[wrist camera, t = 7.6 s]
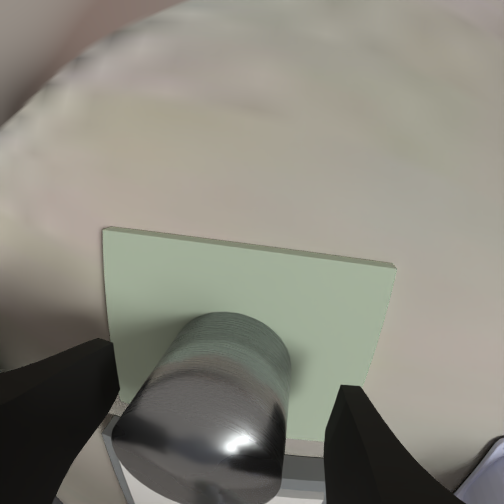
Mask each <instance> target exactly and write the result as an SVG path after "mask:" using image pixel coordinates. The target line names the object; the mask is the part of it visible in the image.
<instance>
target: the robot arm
mask: <svg viewBox="0 0 504 504" xmlns="http://www.w3.org/2000/svg"><path fill="white" fill-rule="evenodd" d="M119 391H120V385H119V379H118V373H117V366H116V360H115V352H114V345H113V342H109V341H106V340H103V339H99V338H97V339H94V340H91V341H88V342H86V343H83V344H81V345H78V346H76V347H73V348H71V349H68V350H66V351H64V352H61V353H59V354H56V355H54V356H51V357H49V358H46V359H44V360H41V361H38V362H35V363H32V364H30V365H27V366H24V367H21V368H18V369H15V370H11V371H8V372H4V373H0V504H52V503H53V500H54V498H55V496H56V494H57V492H58V489H59V487H60V485H61V483H62V481H63V479H64V477H65V475H66V473H67V472H68V470H69V468H70V466H71V464H72V463H73V461H74V460H75V458H76V456H77V455H78V454H79V452H80V451H81V449H82V448H83V447H84V445H85V444H86V443H87V441H88V440H89V439H90V437H91V436H92V434H93V433H94V432H95V430H96V429H97V428H98V426H99V425H100V424H101V422H102V421H103V419H104V418H105V417H106V415H107V414H108V412H109V410H110V409H111V407H112V405H113V403H114V401H115V399H116V397H117V395H118V393H119ZM324 473H325V488H326V504H504V438H502V439H500V440H498V441H497V442H496V443H495V444H494V445H493V446H492V448H491V449H490V450H489V452H488V453H487V455H486V456H485V457H484V458H483V460H482V461H481V462H480V464H479V465H478V466H477V467H476V469H475V470H474V471H473V472H472V473H471V475H470V476H469V477H468V478H467V479H466V481H465V482H464V483H463V484H462V485H461V486H460V487H459V489H458V490H457V491H456V492H455V493H454V494H452V493H451V492H450V491H448V490H447V489H446V488H445V487H443V486H442V485H441V484H440V483H439V482H438V481H436V480H435V479H434V478H433V477H432V476H431V475H430V474H429V473H428V472H427V471H426V470H425V469H424V468H423V467H422V466H421V465H420V464H419V463H418V462H417V461H416V460H415V459H414V458H413V457H412V456H411V454H410V453H409V452H408V451H407V450H406V449H405V447H404V446H403V445H402V444H401V443H400V441H399V440H398V439H397V438H396V436H395V435H394V434H393V432H392V431H391V430H390V428H389V427H388V426H387V424H386V423H385V421H384V420H383V419H382V417H381V416H380V414H379V413H378V411H377V410H376V408H375V407H374V406H373V404H372V403H371V401H370V400H369V398H368V397H367V395H366V394H365V392H364V391H363V389H362V388H361V387H360V386H354V385H340V388H339V391H338V394H337V397H336V400H335V403H334V406H333V409H332V412H331V415H330V418H329V420H328V423H327V426H326V429H325V439H324Z"/></svg>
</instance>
